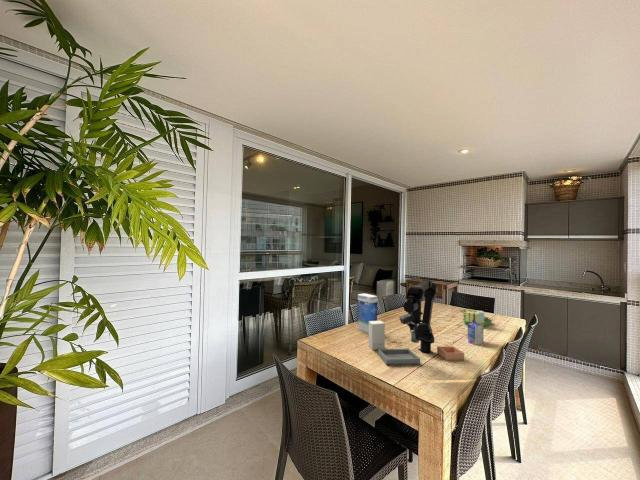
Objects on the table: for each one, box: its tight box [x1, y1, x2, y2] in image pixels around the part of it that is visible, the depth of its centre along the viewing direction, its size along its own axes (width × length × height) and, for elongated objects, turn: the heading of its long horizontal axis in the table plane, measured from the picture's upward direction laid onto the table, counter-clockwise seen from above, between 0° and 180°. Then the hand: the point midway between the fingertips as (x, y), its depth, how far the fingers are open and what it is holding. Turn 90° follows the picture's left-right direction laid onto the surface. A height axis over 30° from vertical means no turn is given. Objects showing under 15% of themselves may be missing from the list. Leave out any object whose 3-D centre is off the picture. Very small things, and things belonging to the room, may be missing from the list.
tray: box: [377, 348, 421, 366], centre depth 151 cm, size 14×18×3 cm
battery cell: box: [410, 329, 420, 344], centre depth 150 cm, size 4×4×7 cm
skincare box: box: [368, 320, 386, 351], centre depth 167 cm, size 8×7×16 cm
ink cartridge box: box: [467, 320, 485, 346], centre depth 180 cm, size 10×6×14 cm, turn 121°
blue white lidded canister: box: [357, 293, 378, 335], centre depth 199 cm, size 13×8×26 cm, turn 35°
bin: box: [436, 345, 465, 362], centre depth 156 cm, size 10×10×4 cm
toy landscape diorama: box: [460, 308, 493, 327], centre depth 224 cm, size 35×20×13 cm, turn 134°
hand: (414, 338), depth 150 cm, fingers closed on battery cell, 4 cm apart
